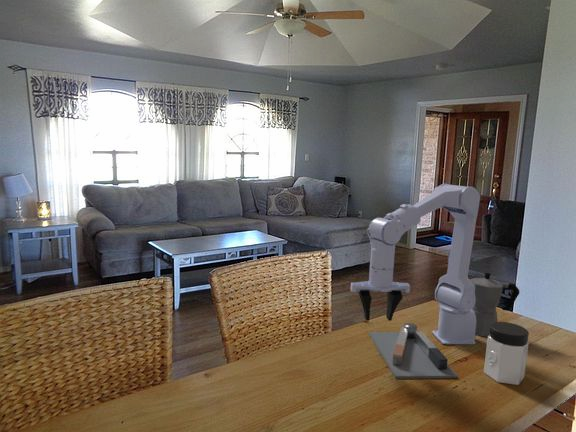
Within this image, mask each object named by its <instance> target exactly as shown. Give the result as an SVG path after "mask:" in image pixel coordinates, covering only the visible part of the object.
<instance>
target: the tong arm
mask: <svg viewBox="0 0 576 432" xmlns="http://www.w3.org/2000/svg"><path fill="white" fill-rule="evenodd" d="M415 331H418V325H417V324H415V323H412V322H406V323H404V324H403V326H401V328H400V331H399V332H400V334H399V337H398V341H397V344H396V347H395V350H394V353H393V363H392V364H396V365H402V360H403V356H404V351H405V347H406V343H407V339H408V338H415Z"/></svg>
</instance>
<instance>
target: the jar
mask: <svg viewBox="0 0 576 432" xmlns="http://www.w3.org/2000/svg"><path fill="white" fill-rule="evenodd" d="M529 334H530V333H529V330H528V329H526V328H525V327H523V326H521V325H519V324H517V323H512V322H508V321H498V322H494V323H492V324H491V326H490V335H489V336H488V337H487V341H486V349H485V357H484V358H485V359H484V365H483V373H484V374H486V375H487V376H488V377H489V378H491V379H492V380H494V381H495V382H497V383H500V384H501V383H502V384H509V385H516V386H518V385H520V384H521V383H522V381H523V380H524V379H525V374H526V373H525V372H526V367H527V358H528V352H529V351H528V350H529V344H530V343H529Z"/></svg>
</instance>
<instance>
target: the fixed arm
mask: <svg viewBox="0 0 576 432" xmlns="http://www.w3.org/2000/svg"><path fill="white" fill-rule="evenodd" d="M414 340H415V341H416V342H417V343H418V345H419V346H420V347H421V348H422V350H423V351H424V352H425V353H426V354H427V356H428V357H429V359H430V360H431V361H432V362H433V363H434V365H435V366H436V367H437V368H438V369H447V364H448V358H447V357H446V356H445V355H444V354H443V353H442V351H440V349H439V348H438V347H437V346H436V345H435V344H434V343H433V342H432V341H431V340H430V338H429V337H428V336H427V335H426V334H425V333H424V332H423V331H418V330H417V331H415V338H414Z"/></svg>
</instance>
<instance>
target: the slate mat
mask: <svg viewBox="0 0 576 432" xmlns="http://www.w3.org/2000/svg"><path fill="white" fill-rule="evenodd" d="M399 334H400V331H384V332H383V331H369V332H368V335H369V337H370V339H371V340H372V342H373V343H374V346H375V348H376V349H377V350H378V352H379V353H380V356H381V357H382V359H383V361H384V362H385V364H386V366H387V367H388V369H389V371H390V372H391V374H392V376H393V377H394V379H457V378H458V374H457V373H456V372H455V370H453V369H452V367H451V366H449V364H448V363H447V369H438V368H437V367H436V366H435V365H434V363H433V362H432V361H431V360H430V359H429V357H428V356H427V354H426V353H425V352H424V351H423V350H422V348H421V347H420V346H419V345H418V343H417V342H416V341H415V340H414V338H408V339H407V343H406V347H405V351H404V356H403V360H402V365H396V364H392V363H393V353H394V350H395V347H396V344H397V341H398V337H399Z"/></svg>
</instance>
